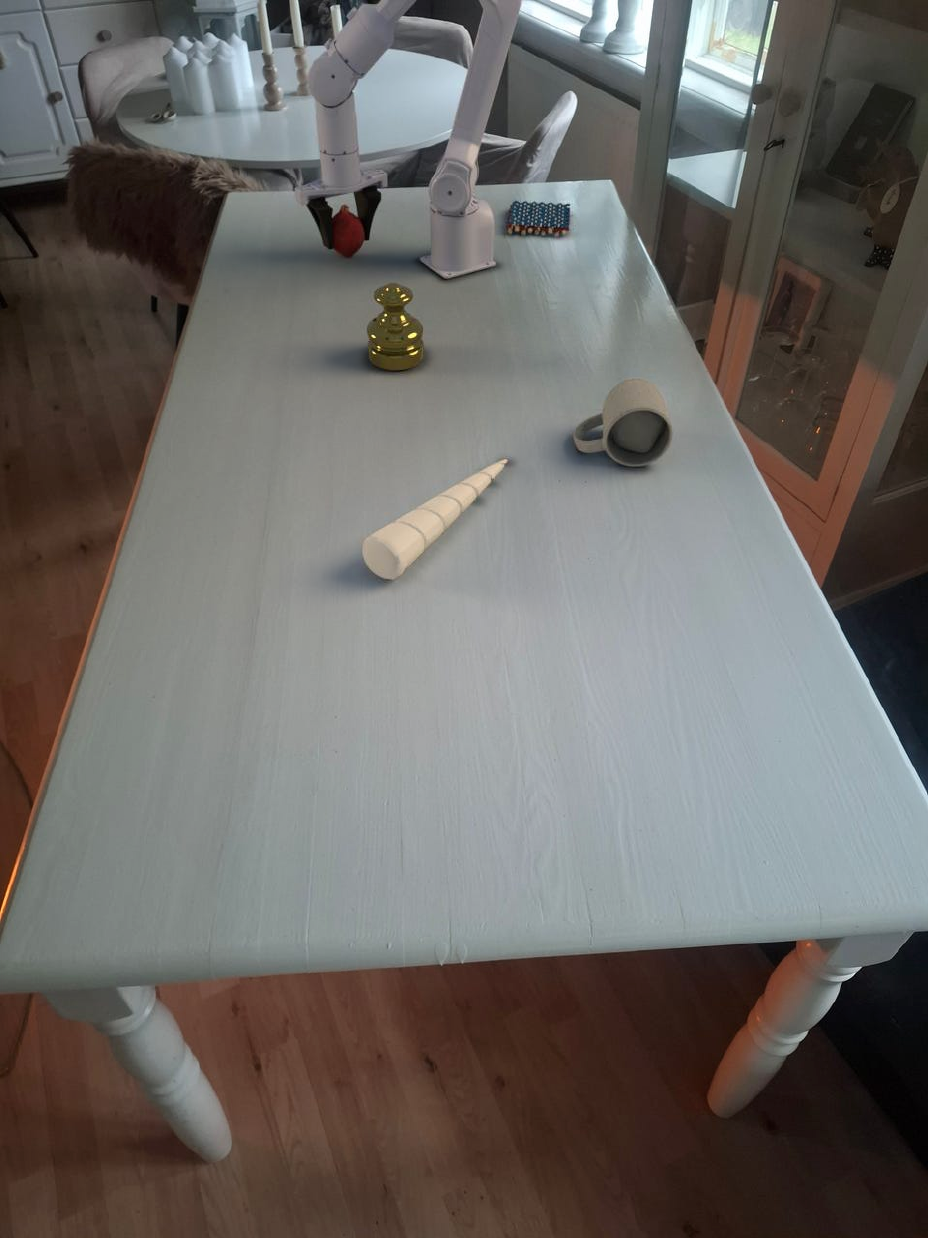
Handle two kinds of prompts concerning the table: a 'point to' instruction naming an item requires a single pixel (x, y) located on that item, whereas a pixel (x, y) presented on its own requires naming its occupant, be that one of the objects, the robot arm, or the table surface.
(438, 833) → the table surface
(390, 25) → the robot arm
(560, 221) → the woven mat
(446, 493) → the unicorn horn
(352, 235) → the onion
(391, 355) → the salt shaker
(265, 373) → the table surface
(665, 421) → the ceramic mug
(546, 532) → the table surface
